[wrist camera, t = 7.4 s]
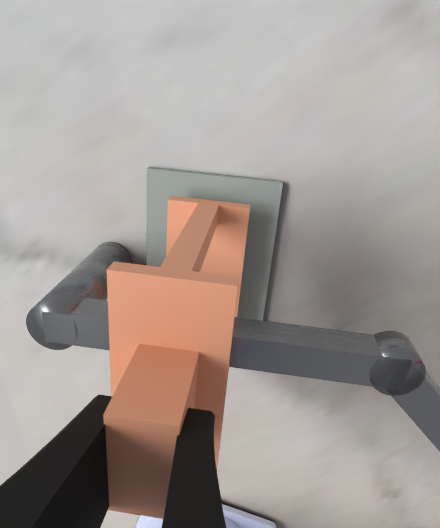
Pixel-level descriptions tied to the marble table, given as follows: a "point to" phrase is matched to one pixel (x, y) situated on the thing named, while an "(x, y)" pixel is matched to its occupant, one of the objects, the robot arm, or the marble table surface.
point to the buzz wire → (252, 343)
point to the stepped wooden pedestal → (170, 346)
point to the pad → (227, 190)
